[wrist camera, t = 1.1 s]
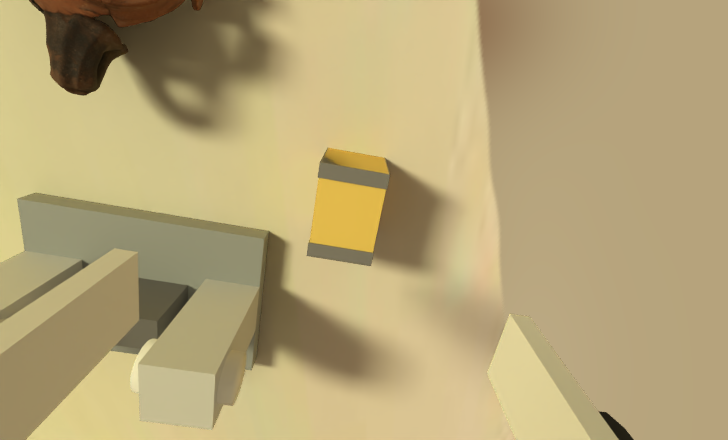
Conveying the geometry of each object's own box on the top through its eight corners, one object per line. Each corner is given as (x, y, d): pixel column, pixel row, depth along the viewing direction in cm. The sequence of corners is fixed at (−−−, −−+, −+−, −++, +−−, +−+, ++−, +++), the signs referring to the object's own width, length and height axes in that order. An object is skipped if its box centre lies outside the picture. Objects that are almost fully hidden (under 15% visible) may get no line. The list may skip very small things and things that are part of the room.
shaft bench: (24, 191, 27) (-171, 253, 17) (278, 232, 28) (234, 313, 18) (43, 327, 31) (-105, 441, 21) (265, 358, 32) (222, 480, 22)
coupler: (316, 226, 28) (306, 255, 23) (327, 147, 26) (319, 162, 21) (369, 235, 28) (371, 266, 24) (385, 158, 26) (390, 174, 22)
